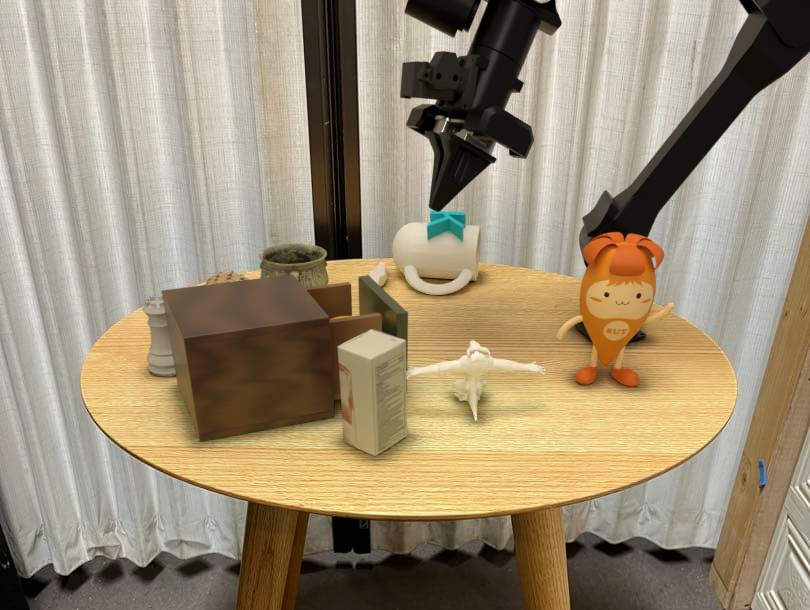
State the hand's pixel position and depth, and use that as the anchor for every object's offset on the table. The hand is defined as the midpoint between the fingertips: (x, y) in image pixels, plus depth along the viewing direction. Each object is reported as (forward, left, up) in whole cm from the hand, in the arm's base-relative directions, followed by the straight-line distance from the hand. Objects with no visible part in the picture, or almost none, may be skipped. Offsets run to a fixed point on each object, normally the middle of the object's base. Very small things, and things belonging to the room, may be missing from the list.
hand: (433, 210), depth 89 cm
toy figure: (-15, +14, -16) cm, 26 cm away
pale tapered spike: (0, -20, -16) cm, 25 cm away
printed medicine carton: (+14, +18, -16) cm, 28 cm away
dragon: (+2, +16, -16) cm, 22 cm away
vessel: (+11, -20, -16) cm, 27 cm away
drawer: (+13, +6, -15) cm, 21 cm away
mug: (-9, -20, -16) cm, 27 cm away
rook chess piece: (+30, -5, -16) cm, 34 cm away
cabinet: (+23, +6, -16) cm, 28 cm away
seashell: (+21, -17, -16) cm, 31 cm away
